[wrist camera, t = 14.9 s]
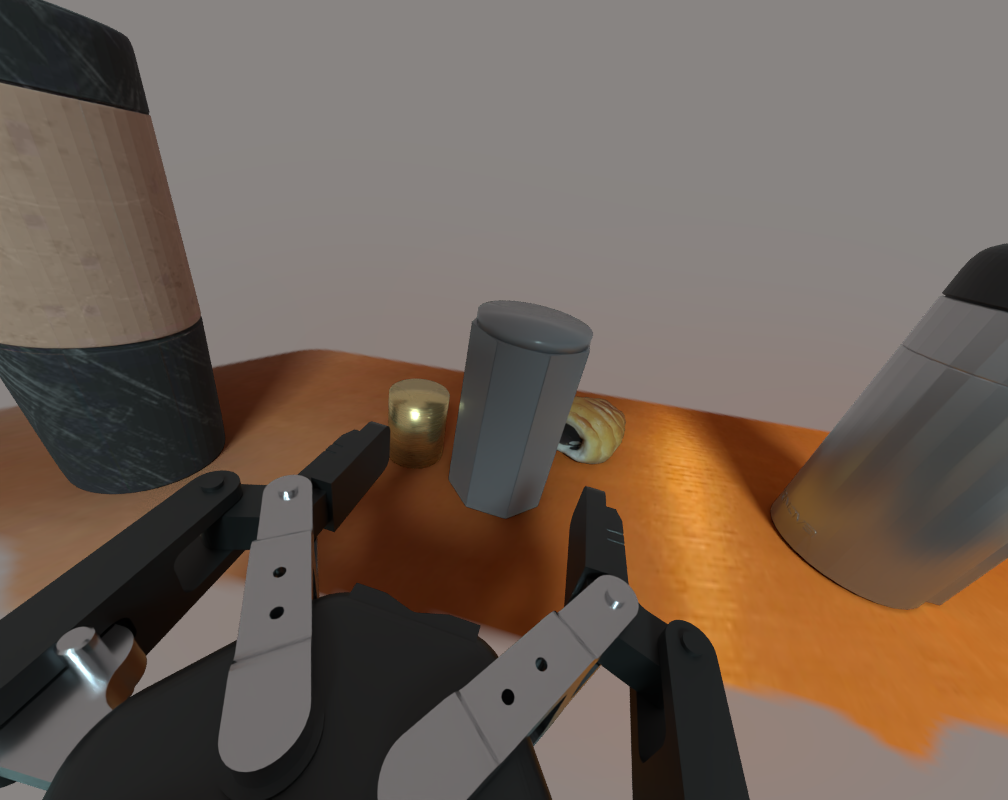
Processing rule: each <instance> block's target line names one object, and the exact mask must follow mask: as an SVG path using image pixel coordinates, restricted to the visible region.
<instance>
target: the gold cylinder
mask: <svg viewBox="0 0 1008 800" xmlns="http://www.w3.org/2000/svg"><path fill="white" fill-rule="evenodd" d="M449 397H450V395H449V392H448V390H447V389H446V388H445V387H444V386H442V385H441V384H439V383H436V382H433V381H430V380H425V379H407V380H402V381H399V382H397V383H395V384H394V385H392V386H391V388H390V390H389V412H388V426H389V427H390V430H391V433H390V456H389V458H390V459H391V460H392V461H393V462H394V463H396V464H398V465H400V466H402V467H406V468H414V469H416V468H425V467H428V466H431V465H433V464H435V463H436V462H437V461H438V460H439V459H440V458H441V456H442V451H443V443H444V435H445V428H446V420H447V412H448V405H449Z"/></svg>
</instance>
